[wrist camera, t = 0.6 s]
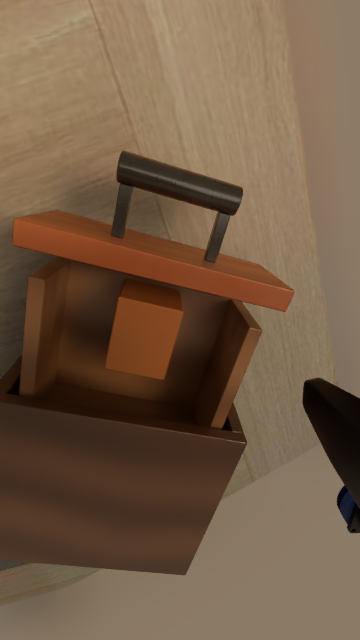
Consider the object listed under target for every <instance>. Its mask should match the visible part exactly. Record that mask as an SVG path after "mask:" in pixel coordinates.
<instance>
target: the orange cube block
mask: <svg viewBox="0 0 360 640" xmlns="http://www.w3.org/2000/svg"><path fill="white" fill-rule="evenodd" d="M183 314H184V310H183V305H182V300H181V295H180V291H176V290H172V289H168V288H164V287H160V286H156V285H152V284H147V283H143V282H139V281H135V280H131V279H125V281H124V284H123V286H122V289H121V291H120V294H119V297H118V301H117V306H116V311H115V316H114V320H113V325H112V330H111V335H110V340H109V345H108V350H107V355H106V360H105V365H104V369H107V370H113V371H118V372H123V373H128V374H134V375H139V376H144V377H149V378H155V379H160V380H164V378H165V375H166V371H167V368H168V365H169V361H170V358H171V355H172V351H173V348H174V344H175V341H176V338H177V334H178V331H179V328H180V324H181V321H182V317H183Z"/></svg>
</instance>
